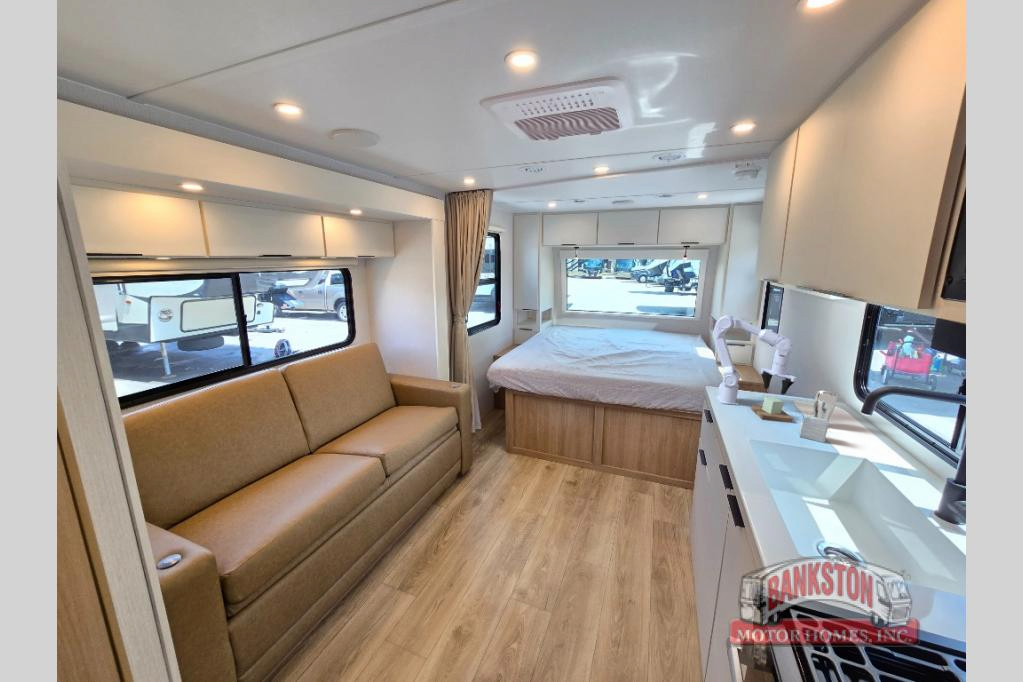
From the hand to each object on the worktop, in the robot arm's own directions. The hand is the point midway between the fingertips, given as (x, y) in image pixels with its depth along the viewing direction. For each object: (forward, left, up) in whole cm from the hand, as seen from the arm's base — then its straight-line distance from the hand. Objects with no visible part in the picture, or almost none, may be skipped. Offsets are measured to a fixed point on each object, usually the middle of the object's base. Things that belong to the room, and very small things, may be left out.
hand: (774, 391), depth 167 cm
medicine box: (+25, +4, -11) cm, 28 cm away
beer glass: (+10, +15, -11) cm, 21 cm away
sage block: (+5, -2, -8) cm, 10 cm away
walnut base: (+5, -2, -10) cm, 12 cm away
